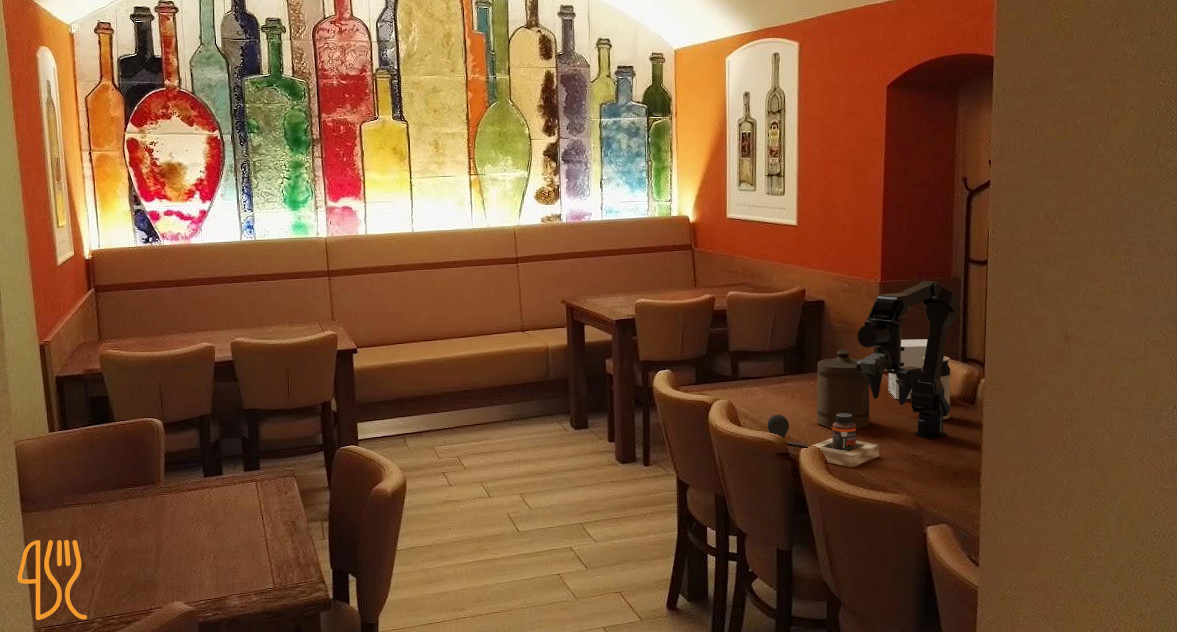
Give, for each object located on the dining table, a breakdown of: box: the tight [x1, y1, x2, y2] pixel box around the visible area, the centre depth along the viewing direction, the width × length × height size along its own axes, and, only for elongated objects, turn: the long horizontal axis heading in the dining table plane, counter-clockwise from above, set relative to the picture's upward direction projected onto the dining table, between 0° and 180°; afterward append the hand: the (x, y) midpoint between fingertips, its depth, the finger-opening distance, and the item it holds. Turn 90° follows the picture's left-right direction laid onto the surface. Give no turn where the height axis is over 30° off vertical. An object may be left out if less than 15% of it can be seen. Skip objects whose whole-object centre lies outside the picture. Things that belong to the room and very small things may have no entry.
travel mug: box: [922, 355, 951, 420], centre depth 302 cm, size 8×8×18 cm
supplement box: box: [888, 338, 928, 400], centre depth 330 cm, size 13×13×18 cm
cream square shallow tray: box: [809, 437, 880, 468], centre depth 266 cm, size 13×13×3 cm
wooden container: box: [816, 348, 870, 430], centre depth 299 cm, size 15×15×22 cm
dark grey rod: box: [787, 441, 812, 448], centre depth 277 cm, size 12×1×1 cm, turn 49°
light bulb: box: [767, 414, 790, 439], centre depth 273 cm, size 6×6×10 cm
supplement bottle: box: [832, 413, 857, 452], centre depth 266 cm, size 6×6×11 cm
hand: (888, 401), depth 269 cm, fingers open, 9 cm apart
